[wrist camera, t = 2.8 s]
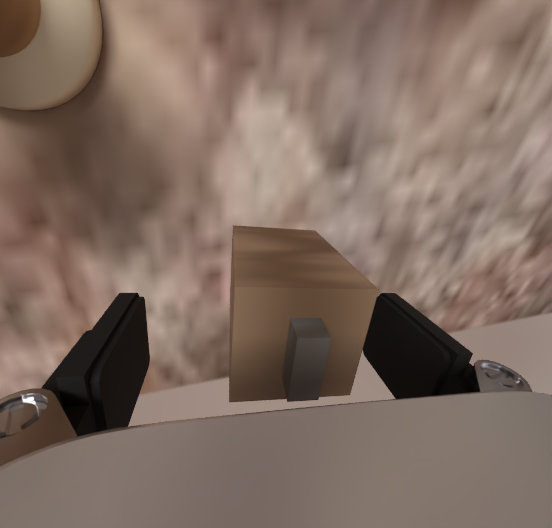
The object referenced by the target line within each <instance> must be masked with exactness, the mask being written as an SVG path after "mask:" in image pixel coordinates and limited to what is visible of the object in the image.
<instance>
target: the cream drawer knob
mask: <svg viewBox="0 0 552 528" xmlns="http://www.w3.org/2000/svg"><path fill="white" fill-rule="evenodd" d="M102 36H103V30H102V16H101V10H100V4H99V0H0V107H5V108H11V109H16V110H27V111H35V110H45V109H49V108H54V107H57V106H59V105H62V104H64V103H66V102H68V101H69V100H71V99H73V98H74V97H75V96H76V95H78V94H79V93H80V92H81V91H82V90H83V89H84V88H85V86H86V85H87V84H88V83H89V81H90V79H91V78H92V76H93V74H94V72H95V70H96V67H97V64H98V62H99V58H100V53H101V48H102Z"/></svg>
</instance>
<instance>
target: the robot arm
mask: <svg viewBox="0 0 552 528" xmlns="http://www.w3.org/2000/svg"><path fill="white" fill-rule="evenodd" d="M363 353H364V355H365V357H366V358H367V360H368V361H369V362H370V364H371V365H372V366H373V368H374V369H375V370H376V372H377V374H378V375H379V376H380V378H381V379H382V380H383V382H384V383H385V385H386V386H387V387H388V389H389V390H390V392H391V393H392V394H393V395H394V397H395V398H396V399H392V400H382V401H370V402H359V403H349V404H338V405H327V406H317V407H306V408H296V409H286V410H276V411H266V412H256V413H246V414H236V415H227V416H216V417H206V418H197V419H186V420H176V421H166V422H159V423H152V424H144V425H137V426H130V427H128V425H129V422H130V419H131V416H132V413H133V410H134V407H135V404H136V401H137V399H138V396H139V393H140V390H141V387H142V385H143V382H144V379H145V376H146V373H147V370H148V367H149V361H150V355H149V343H148V332H147V320H146V308H145V299H144V297H139V294H138V293H119V294H118V296H117V297H116V298H115V300H114V301H113V302H112V304H111V305H110V306H109V308H108V309H107V310H106V311H105V313H104V314H103V315H102V317H101V318H100V319H99V321H98V322H97V323H96V325H95V326H94V327H93V329H92V330H89V331H86V332H85V333H84V334H83V335H82V337H81V338H80V339H79V341H78V342H77V343H76V344H75V346H74V347H73V348H72V349H71V351H70V352H69V353H68V355H67V356H66V357H65V358H64V360H63V361H62V362H61V364H60V365H59V366H58V367H57V369H56V370H55V371H54V372H53V374H52V375H51V376H50V378H49V379H48V380H47V381H46V383H45V384H44V385H43V387H42V388H41V389H28V390H23V391H19V392H16V393H14V394H11V395H8V396H6V397H4V398H2V399H0V528H552V395H548V394H543V393H535V392H532V390H531V388H530V386H529V384H528V383H527V381H526V380H525V379H524V378H523V377H522V376H521V375H519V374H518V373H516V372H515V371H513V370H512V369H510V368H508V367H506V366H504V365H501V364H499V363H496V362H493V361H489V360H478V361H476V362H475V364H474V366H472V365H471V364H470V363H469V361H470V359H471V357H472V354H473V353H471V352H470V351H469V350H468V349H466V348H465V347H464V346H462V345H461V344H460V343H459V342H457V341H456V340H455V339H454V338H452V337H451V336H450V335H449V334H447V333H446V332H445V331H443V330H442V329H441V328H440V327H438V326H437V325H436V324H434V323H433V322H432V321H431V320H429V319H428V318H427V317H425V316H424V315H423V314H422V313H420V312H419V311H418V310H416V309H415V308H414V307H413V306H411V305H410V304H409V303H407V302H406V301H405V300H404V299H402V298H401V297H400V296H398V295H397V294H395V293H381V294H380V295H379V296H378V297H377V298H376V302H375V305H374V309H373V313H372V316H371V320H370V324H369V327H368V331H367V335H366V338H365V342H364V345H363Z"/></svg>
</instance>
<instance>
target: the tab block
mask: <svg viewBox="0 0 552 528" xmlns="http://www.w3.org/2000/svg"><path fill="white" fill-rule="evenodd" d="M378 291H379V289H378V288H377V287H376V286H374V285H373V284H372V283H371V282H370V281H369V280H368V279H367V278H366V277H365V276H364V275H363V274H361V273H360V272H359V271H358V270H357V269H356V268H355V267H354V266H353V265H352V264H351V263H350V262H348V261H347V260H346V259H345V258H344V257H343V256H342V255H341V254H340V253H339V252H338V251H337V250H335V249H334V248H333V247H332V246H331V245H330V244H329V243H328V242H327V241H326V240H325V239H324V238H322V237H321V236H320V235H319V234H318V233H317V232H316V231H313V230H297V229H280V228H264V227H247V226H233V239H232V263H231V287H230V373H229V379H230V380H229V381H230V383H229V388H230V389H229V402H242V401H258V400H275V399H287V401H288V402H290V401H306V400H318V398H319V397H325V396H343V395H350V393H351V389H352V386H353V382H354V378H355V374H356V371H357V367H358V364H359V360H360V356H361V353H362V349H363V345H364V342H365V338H366V335H367V331H368V327H369V324H370V320H371V316H372V313H373V309H374V305H375V302H376V298H377V295H378Z"/></svg>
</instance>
